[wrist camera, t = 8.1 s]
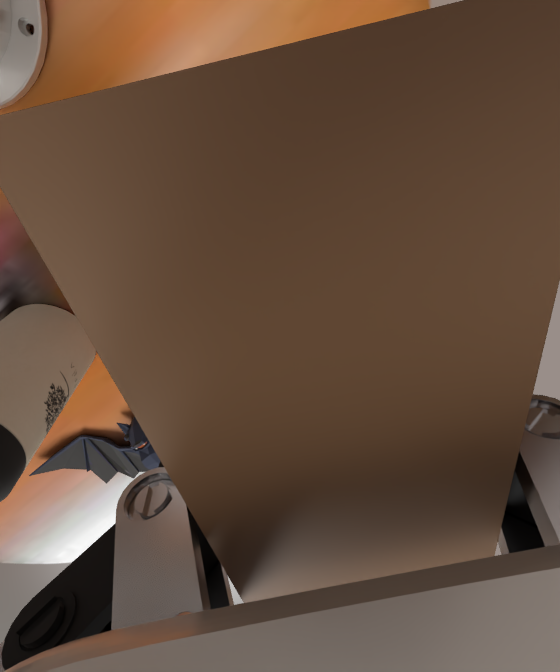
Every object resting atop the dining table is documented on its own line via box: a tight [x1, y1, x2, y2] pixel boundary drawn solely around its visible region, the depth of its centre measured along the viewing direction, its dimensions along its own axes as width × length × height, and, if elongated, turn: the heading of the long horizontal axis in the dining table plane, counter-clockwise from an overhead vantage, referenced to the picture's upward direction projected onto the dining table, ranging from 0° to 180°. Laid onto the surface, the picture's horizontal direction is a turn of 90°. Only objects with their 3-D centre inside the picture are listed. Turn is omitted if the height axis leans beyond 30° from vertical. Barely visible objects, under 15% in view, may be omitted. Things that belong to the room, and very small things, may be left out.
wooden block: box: [0, 0, 560, 603], centre depth 9 cm, size 14×5×6 cm, turn 11°
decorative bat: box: [29, 416, 160, 483], centre depth 39 cm, size 30×4×10 cm
